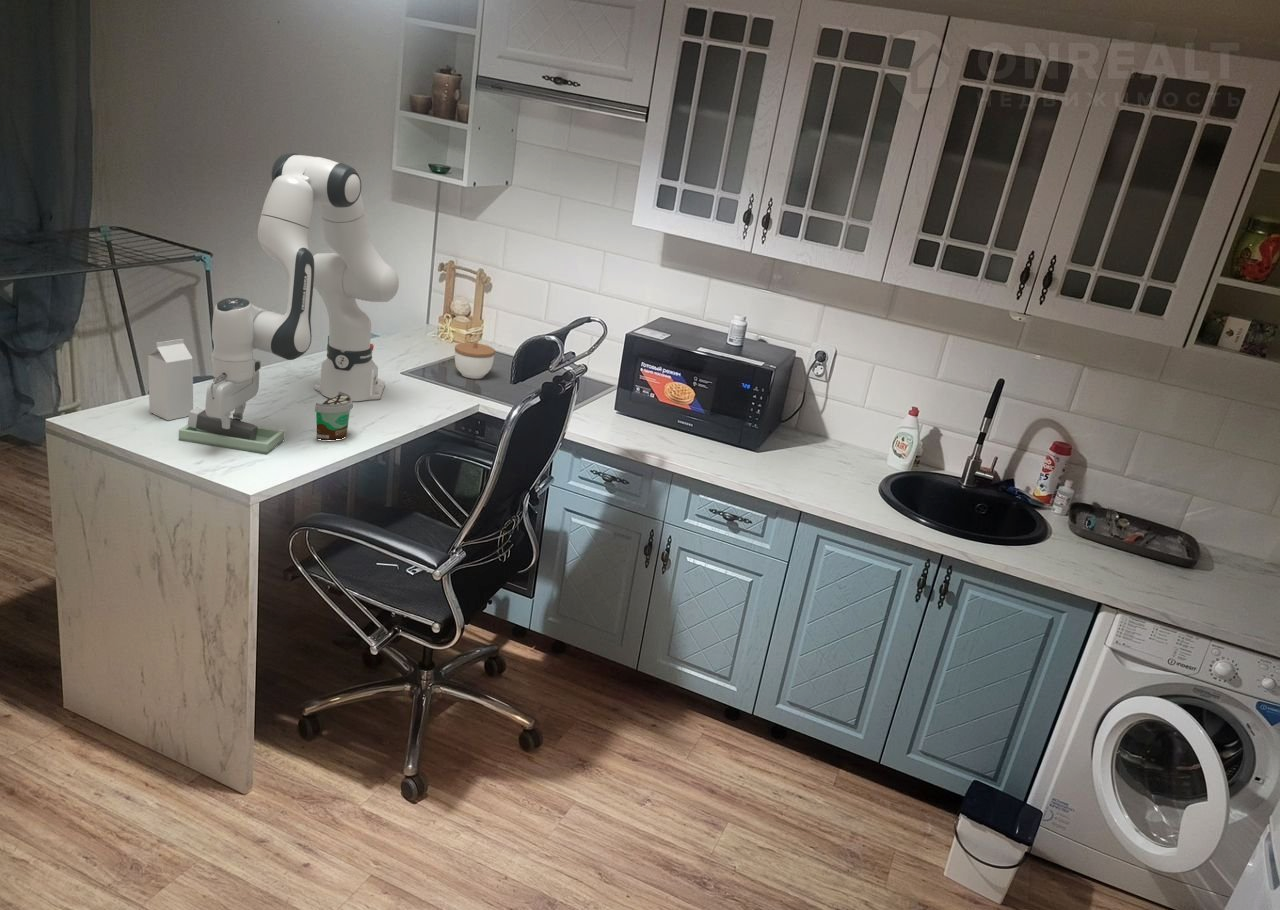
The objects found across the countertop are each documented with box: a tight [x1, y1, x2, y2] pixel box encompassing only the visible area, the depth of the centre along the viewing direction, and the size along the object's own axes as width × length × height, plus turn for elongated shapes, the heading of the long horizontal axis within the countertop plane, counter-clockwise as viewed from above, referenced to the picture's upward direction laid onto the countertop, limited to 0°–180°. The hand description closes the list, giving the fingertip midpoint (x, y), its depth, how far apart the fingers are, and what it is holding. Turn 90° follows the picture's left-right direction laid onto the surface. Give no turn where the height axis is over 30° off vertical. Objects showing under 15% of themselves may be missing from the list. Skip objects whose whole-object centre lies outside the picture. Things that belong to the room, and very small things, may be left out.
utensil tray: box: [178, 424, 286, 455], centre depth 228 cm, size 10×21×2 cm, turn 87°
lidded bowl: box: [454, 341, 496, 380], centre depth 305 cm, size 13×13×11 cm
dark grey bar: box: [187, 406, 259, 441], centre depth 227 cm, size 15×4×4 cm, turn 87°
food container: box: [314, 392, 354, 440], centre depth 239 cm, size 12×6×10 cm, turn 169°
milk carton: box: [147, 338, 194, 421], centre depth 235 cm, size 7×7×19 cm
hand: (232, 424), depth 227 cm, fingers open, 4 cm apart
